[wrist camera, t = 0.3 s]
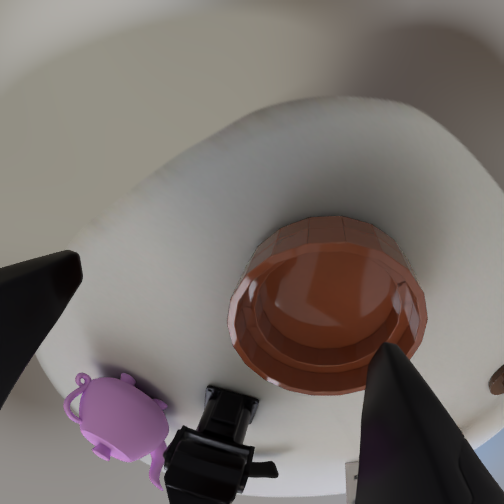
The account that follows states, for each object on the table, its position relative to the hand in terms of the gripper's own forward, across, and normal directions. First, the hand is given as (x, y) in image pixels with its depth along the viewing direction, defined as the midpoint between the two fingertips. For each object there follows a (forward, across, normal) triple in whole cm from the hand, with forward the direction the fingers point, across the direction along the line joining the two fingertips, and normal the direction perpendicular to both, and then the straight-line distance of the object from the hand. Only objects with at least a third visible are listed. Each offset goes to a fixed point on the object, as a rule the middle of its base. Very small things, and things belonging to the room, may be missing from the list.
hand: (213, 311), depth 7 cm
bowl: (+15, -6, +8) cm, 18 cm away
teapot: (+14, +14, +37) cm, 42 cm away
